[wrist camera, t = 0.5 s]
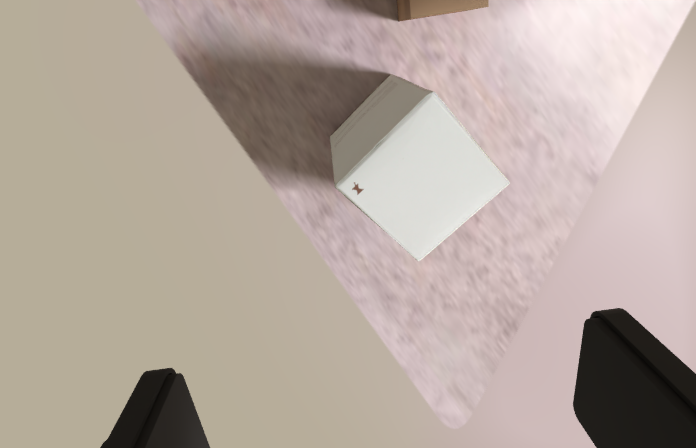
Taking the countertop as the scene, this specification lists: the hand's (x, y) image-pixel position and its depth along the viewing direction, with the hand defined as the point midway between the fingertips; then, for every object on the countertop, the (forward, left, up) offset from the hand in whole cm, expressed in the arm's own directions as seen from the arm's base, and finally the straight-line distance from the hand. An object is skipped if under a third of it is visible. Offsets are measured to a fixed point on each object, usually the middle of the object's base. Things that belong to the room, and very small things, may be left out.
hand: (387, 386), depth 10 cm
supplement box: (+1, +4, -27) cm, 28 cm away
